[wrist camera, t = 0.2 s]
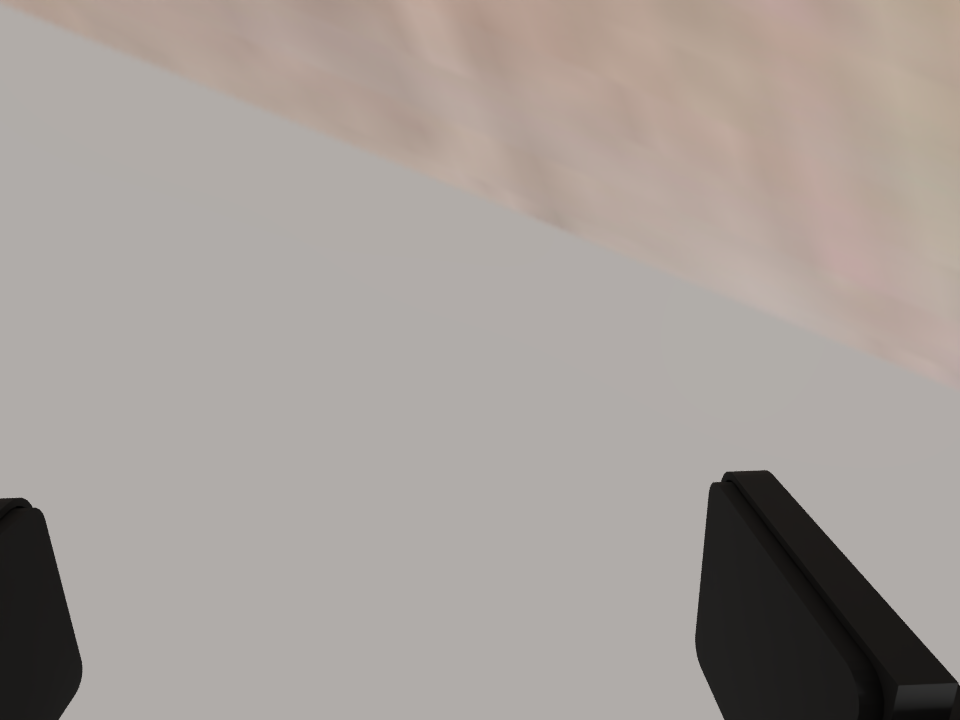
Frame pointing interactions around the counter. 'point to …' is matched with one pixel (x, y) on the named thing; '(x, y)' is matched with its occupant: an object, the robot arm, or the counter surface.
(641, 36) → the counter surface
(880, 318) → the counter surface
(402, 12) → the counter surface
